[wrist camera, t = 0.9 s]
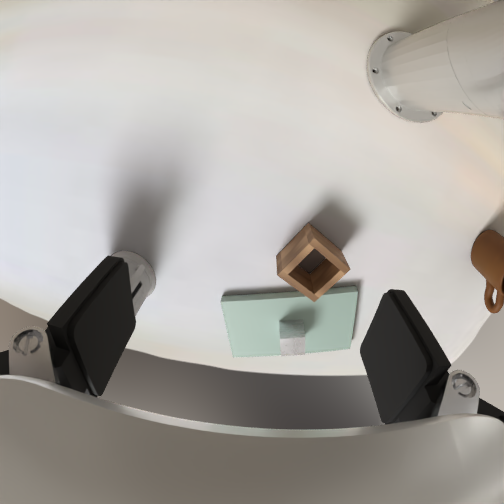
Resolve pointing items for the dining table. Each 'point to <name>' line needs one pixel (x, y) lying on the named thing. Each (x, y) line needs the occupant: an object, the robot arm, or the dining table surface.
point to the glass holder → (138, 277)
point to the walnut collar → (320, 276)
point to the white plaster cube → (292, 337)
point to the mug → (490, 266)
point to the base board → (289, 308)
